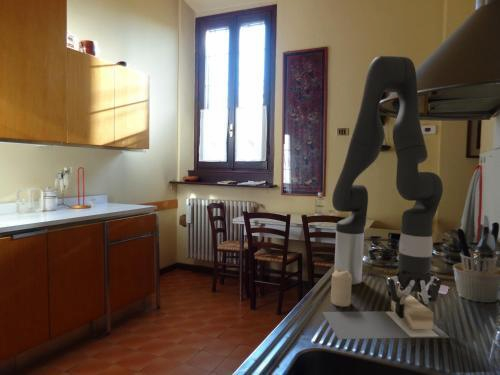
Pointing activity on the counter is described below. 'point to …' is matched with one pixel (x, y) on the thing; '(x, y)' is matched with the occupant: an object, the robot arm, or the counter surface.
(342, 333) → the mat
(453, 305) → the counter surface
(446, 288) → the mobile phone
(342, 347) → the counter surface
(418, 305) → the cream block
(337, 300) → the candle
